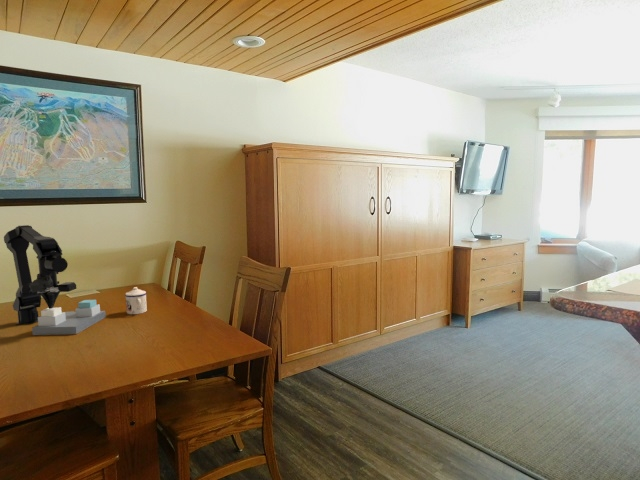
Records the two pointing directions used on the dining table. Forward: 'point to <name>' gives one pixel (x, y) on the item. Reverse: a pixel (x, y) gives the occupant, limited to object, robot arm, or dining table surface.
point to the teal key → (87, 304)
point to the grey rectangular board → (69, 321)
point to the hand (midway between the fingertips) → (51, 308)
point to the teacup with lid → (136, 301)
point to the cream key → (51, 312)
